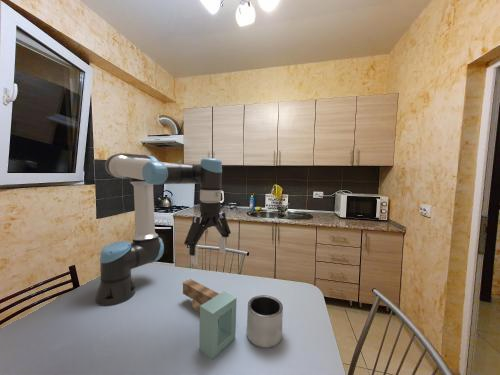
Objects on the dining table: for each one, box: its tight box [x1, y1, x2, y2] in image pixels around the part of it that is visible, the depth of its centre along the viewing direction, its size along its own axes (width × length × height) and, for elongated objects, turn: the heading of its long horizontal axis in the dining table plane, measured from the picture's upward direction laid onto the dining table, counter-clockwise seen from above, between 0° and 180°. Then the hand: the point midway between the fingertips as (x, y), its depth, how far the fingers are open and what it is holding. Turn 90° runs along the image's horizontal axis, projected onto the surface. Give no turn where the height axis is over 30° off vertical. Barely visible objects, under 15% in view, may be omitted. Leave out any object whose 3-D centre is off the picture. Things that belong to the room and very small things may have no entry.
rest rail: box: [192, 299, 201, 313], centre depth 87 cm, size 12×3×4 cm, turn 53°
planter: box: [246, 294, 284, 348], centre depth 75 cm, size 13×13×11 cm
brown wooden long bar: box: [182, 278, 220, 305], centre depth 87 cm, size 22×4×5 cm, turn 53°
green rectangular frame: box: [198, 291, 237, 360], centre depth 71 cm, size 6×11×14 cm, turn 143°
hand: (209, 258), depth 79 cm, fingers open, 13 cm apart
